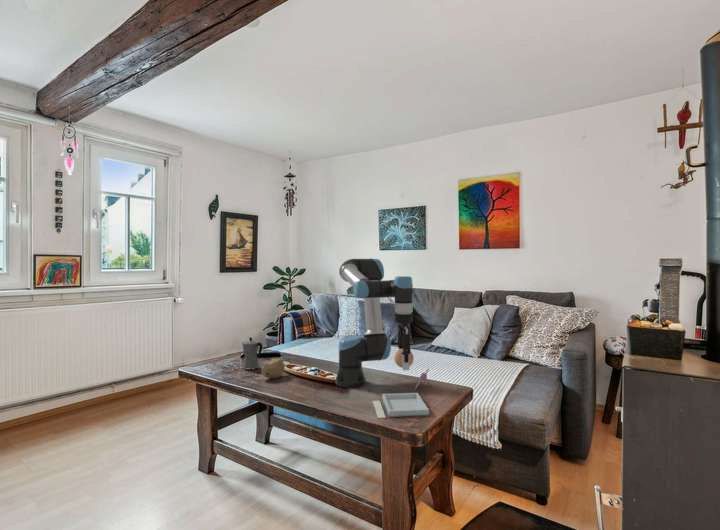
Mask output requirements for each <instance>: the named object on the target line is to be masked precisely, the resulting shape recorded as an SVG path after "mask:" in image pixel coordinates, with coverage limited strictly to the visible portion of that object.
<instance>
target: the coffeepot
mask: <svg viewBox="0 0 720 530" xmlns="http://www.w3.org/2000/svg"><path fill="white" fill-rule="evenodd" d="M241 345H242V350H243V355H244V357H243V363H242V368H243V367H244V368H250V369H252V368H257V367H258V366H260V365H259V360H258V359H259V358H260V357H261V354H262V350H263V347H264V346H263V344H262V343H261V342H259V341H257V340H253V337H251V336H250V337H249V340H246V341H243V342H241ZM258 368H259V367H258Z"/></svg>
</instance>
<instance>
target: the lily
mask: <svg viewBox="0 0 720 530" xmlns="http://www.w3.org/2000/svg"><path fill="white" fill-rule="evenodd" d="M429 371H430V368H429V367H428V368H427V370H426V371H425V372H422V373H421V374H420V376H419V381H418V382H417V384H416V386H415V388H414V390H416V389H417V387H418V386H419V385H420V384H422V383H427V384H429V386H430V387H431V389H433V387H432V385H431V384H430V383H429V381H428V376H427V374H428V372H429Z"/></svg>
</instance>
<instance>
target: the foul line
mask: <svg viewBox="0 0 720 530" xmlns="http://www.w3.org/2000/svg"><path fill="white" fill-rule="evenodd" d="M372 403H373V407H374V410H375V413H376V416H377V419H386V418H387V417H386V414H385V411H384V409H383V406H382V403H381V400H373V401H372Z"/></svg>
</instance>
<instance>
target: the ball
mask: <svg viewBox="0 0 720 530" xmlns="http://www.w3.org/2000/svg"><path fill="white" fill-rule="evenodd" d="M406 351H408V350H406ZM410 352H411V353H410V354H409V367H411V366H412V365H413V363H414V354H413V352H412V351H411V350H410ZM401 353H403V349H399V348H398V349H397V351H396V352H395V354H394V362H395V364H396V365H397V366H398V367H399V368H402V369H403V357H402V354H401Z"/></svg>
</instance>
